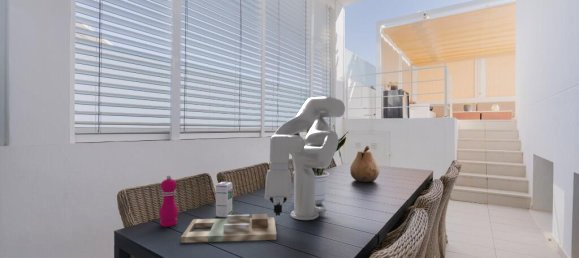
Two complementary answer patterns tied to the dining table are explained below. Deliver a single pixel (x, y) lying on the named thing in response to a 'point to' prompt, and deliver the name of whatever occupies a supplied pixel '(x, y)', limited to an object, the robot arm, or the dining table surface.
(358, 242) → the dining table surface
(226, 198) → the syrup box
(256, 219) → the walnut block
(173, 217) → the pepper mill
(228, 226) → the trap board
